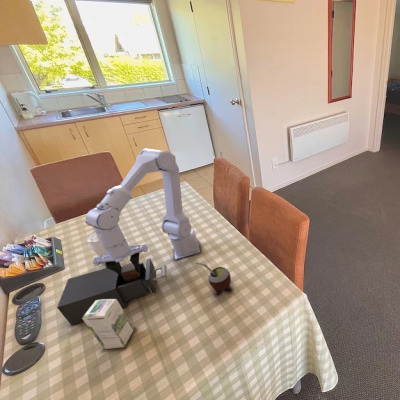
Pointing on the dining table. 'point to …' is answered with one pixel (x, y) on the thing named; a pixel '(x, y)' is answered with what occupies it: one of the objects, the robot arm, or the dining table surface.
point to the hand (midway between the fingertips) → (131, 272)
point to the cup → (95, 244)
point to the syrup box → (108, 323)
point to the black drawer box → (88, 293)
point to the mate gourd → (218, 278)
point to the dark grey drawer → (141, 281)
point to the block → (129, 272)
